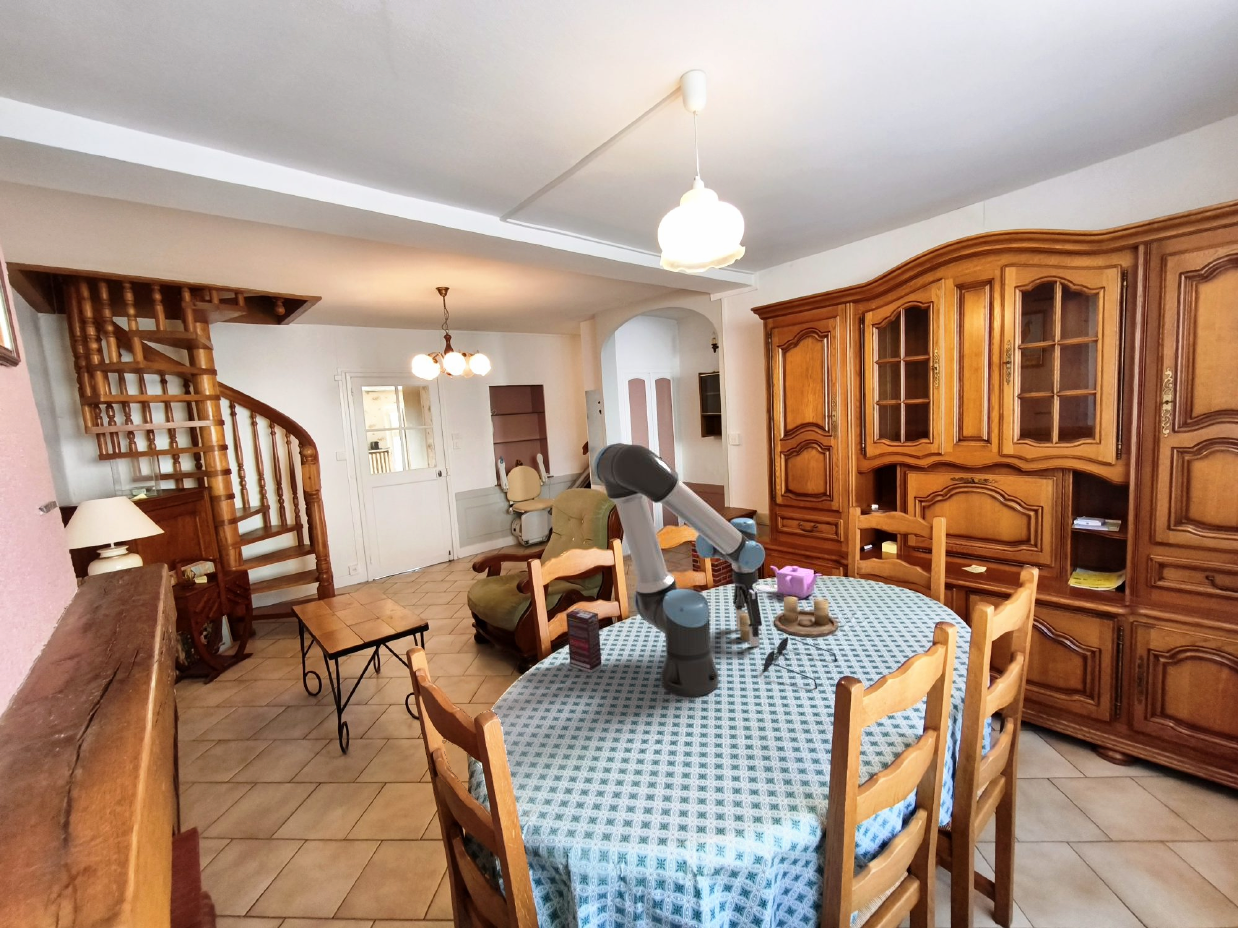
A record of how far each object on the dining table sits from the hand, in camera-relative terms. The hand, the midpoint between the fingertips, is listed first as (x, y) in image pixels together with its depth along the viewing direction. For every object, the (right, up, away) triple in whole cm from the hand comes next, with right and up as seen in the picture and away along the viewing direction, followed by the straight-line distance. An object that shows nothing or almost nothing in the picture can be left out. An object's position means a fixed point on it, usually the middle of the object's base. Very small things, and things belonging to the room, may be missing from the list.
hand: (747, 637), depth 164 cm
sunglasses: (+9, -2, -20) cm, 22 cm away
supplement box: (-49, -5, -12) cm, 51 cm away
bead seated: (+25, +3, +6) cm, 26 cm away
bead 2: (+17, +3, +10) cm, 20 cm away
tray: (+20, +2, +5) cm, 21 cm away
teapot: (+26, +5, +34) cm, 43 cm away
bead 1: (0, 0, 0) cm, 0 cm away
